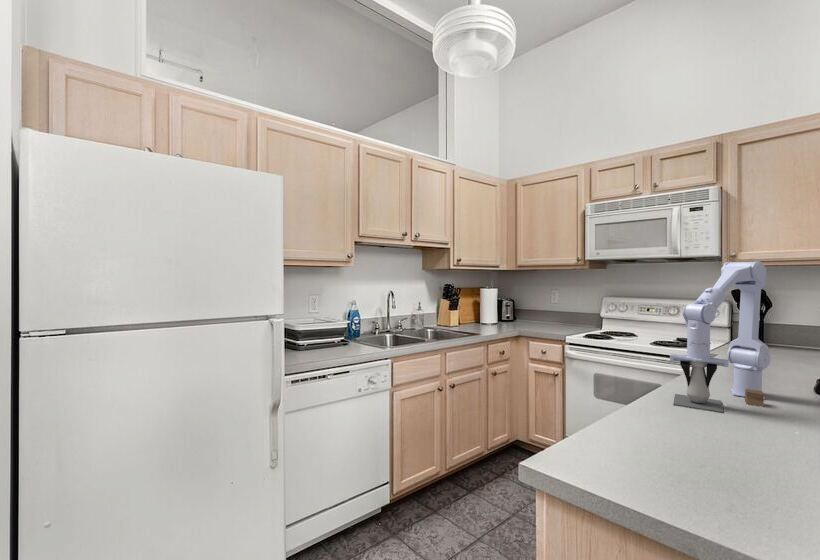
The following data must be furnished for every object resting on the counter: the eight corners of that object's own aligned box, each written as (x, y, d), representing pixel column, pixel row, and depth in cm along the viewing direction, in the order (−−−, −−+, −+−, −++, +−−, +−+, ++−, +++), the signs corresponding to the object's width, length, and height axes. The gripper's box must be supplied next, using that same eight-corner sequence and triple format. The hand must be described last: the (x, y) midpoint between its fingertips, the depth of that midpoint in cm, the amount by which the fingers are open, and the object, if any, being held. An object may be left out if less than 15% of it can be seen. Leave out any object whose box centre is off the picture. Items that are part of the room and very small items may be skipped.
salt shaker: (702, 399, 127) (702, 357, 127) (714, 404, 121) (714, 360, 121) (682, 398, 128) (683, 356, 128) (693, 403, 122) (693, 359, 122)
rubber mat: (675, 395, 133) (675, 393, 133) (720, 401, 127) (721, 400, 127) (673, 405, 123) (673, 403, 123) (723, 413, 116) (723, 411, 116)
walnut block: (744, 401, 128) (745, 388, 128) (761, 403, 125) (761, 390, 125) (746, 404, 124) (746, 391, 124) (763, 407, 122) (763, 393, 122)
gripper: (669, 342, 125) (669, 386, 126) (729, 347, 117) (728, 394, 117) (670, 339, 131) (670, 381, 131) (727, 344, 123) (727, 388, 123)
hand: (697, 387), depth 125 cm, fingers closed on salt shaker, 4 cm apart
